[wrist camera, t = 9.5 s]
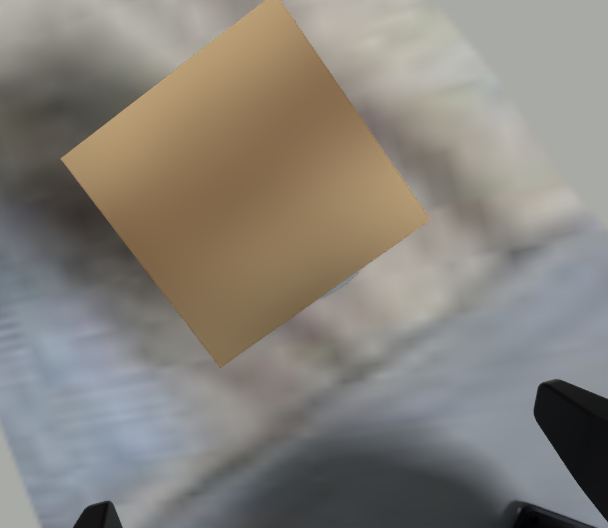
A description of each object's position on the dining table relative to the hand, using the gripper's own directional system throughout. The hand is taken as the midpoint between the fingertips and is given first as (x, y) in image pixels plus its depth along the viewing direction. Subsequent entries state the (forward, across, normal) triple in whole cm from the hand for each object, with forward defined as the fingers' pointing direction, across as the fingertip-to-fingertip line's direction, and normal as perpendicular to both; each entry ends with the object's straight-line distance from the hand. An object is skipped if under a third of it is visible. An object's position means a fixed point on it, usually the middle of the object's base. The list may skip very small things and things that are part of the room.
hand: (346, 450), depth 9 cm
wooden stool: (+13, -2, -1) cm, 14 cm away
